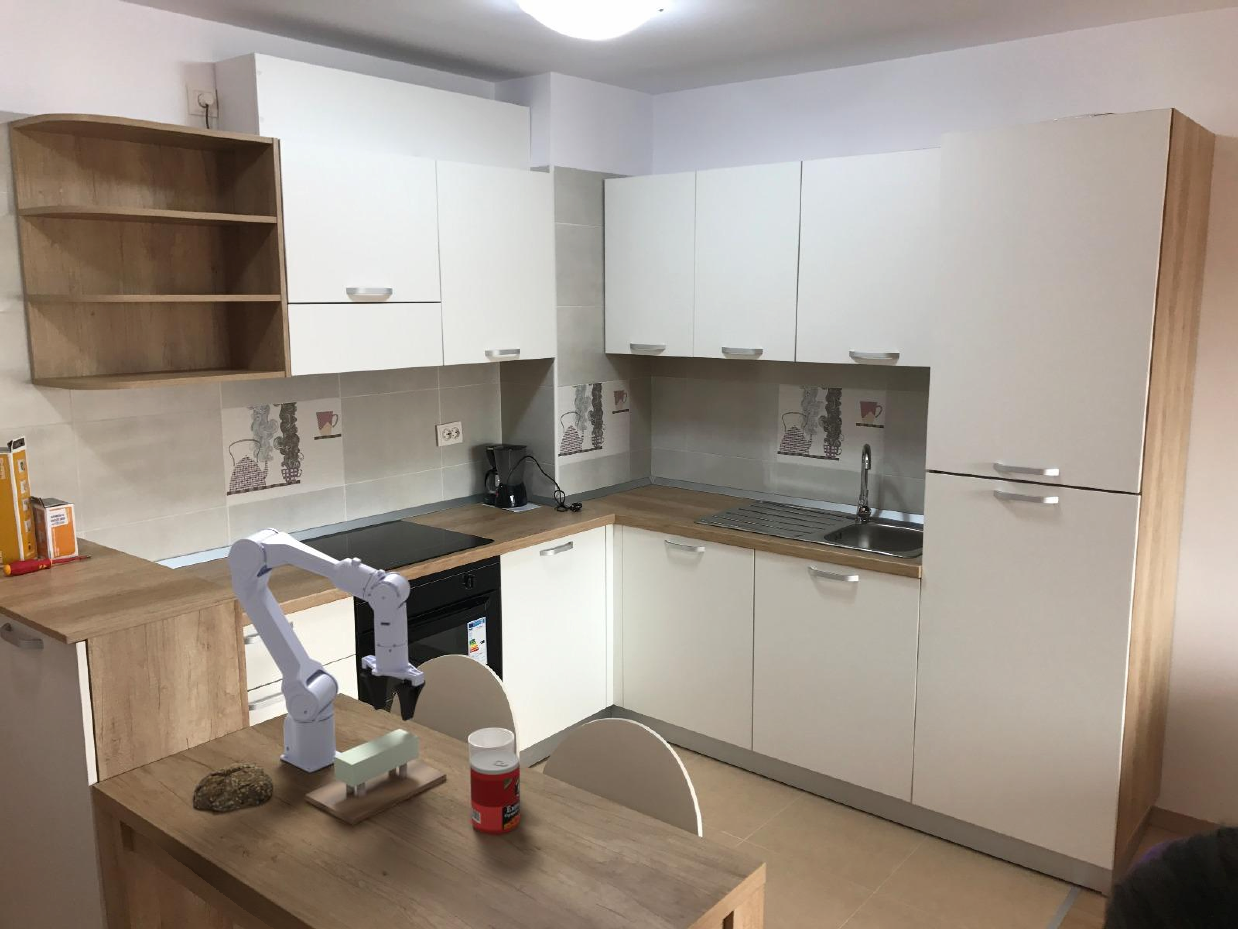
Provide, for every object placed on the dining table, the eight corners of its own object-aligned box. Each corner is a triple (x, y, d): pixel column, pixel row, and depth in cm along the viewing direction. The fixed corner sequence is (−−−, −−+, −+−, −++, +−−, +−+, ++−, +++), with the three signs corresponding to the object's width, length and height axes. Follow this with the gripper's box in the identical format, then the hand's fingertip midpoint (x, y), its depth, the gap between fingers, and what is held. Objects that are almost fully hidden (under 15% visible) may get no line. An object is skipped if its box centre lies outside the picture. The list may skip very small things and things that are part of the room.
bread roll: (263, 772, 178) (261, 746, 178) (279, 800, 168) (278, 773, 167) (186, 790, 172) (185, 763, 171) (199, 821, 161) (197, 792, 160)
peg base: (305, 800, 168) (304, 778, 167) (398, 758, 183) (398, 738, 182) (353, 825, 160) (352, 802, 159) (446, 779, 175) (445, 758, 174)
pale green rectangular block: (400, 749, 178) (399, 728, 177) (418, 757, 175) (417, 736, 174) (334, 778, 167) (333, 756, 166) (353, 787, 164) (352, 764, 163)
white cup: (492, 807, 165) (491, 751, 164) (459, 793, 170) (458, 739, 168) (524, 789, 172) (523, 735, 170) (491, 776, 176) (490, 723, 175)
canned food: (512, 838, 156) (511, 773, 154) (464, 832, 158) (462, 768, 156) (526, 813, 163) (525, 751, 162) (480, 808, 165) (479, 747, 163)
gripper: (347, 639, 178) (350, 710, 180) (401, 656, 169) (403, 731, 171) (378, 629, 183) (380, 698, 186) (431, 645, 175) (433, 718, 177)
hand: (393, 713), depth 179 cm, fingers open, 7 cm apart
